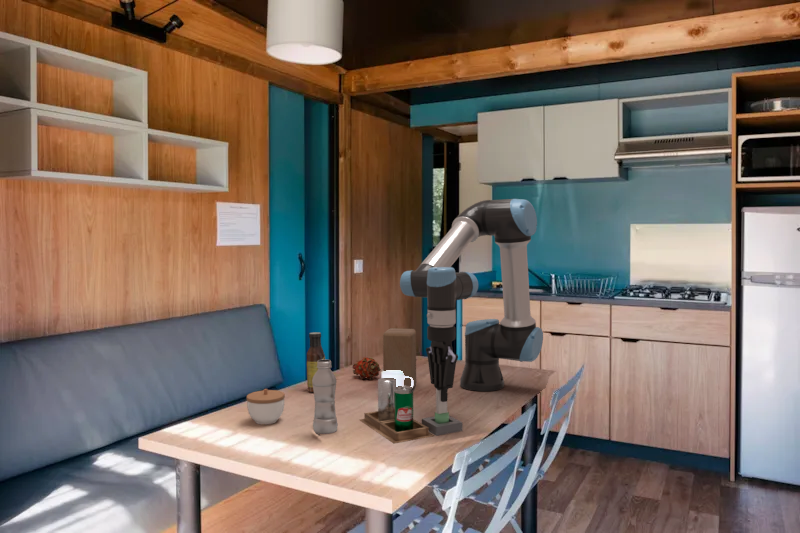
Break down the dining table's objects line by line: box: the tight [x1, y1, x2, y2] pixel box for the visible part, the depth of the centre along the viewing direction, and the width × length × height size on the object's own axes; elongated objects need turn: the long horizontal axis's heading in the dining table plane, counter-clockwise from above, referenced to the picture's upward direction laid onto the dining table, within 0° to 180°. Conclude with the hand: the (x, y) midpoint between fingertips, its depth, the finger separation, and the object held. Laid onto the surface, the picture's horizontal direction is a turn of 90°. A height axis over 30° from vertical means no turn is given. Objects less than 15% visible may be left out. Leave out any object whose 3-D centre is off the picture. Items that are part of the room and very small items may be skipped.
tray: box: [359, 410, 435, 444], centre depth 167 cm, size 12×22×3 cm, turn 27°
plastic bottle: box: [312, 358, 339, 436], centre depth 164 cm, size 6×7×20 cm
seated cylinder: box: [377, 377, 396, 421], centre depth 171 cm, size 5×5×12 cm
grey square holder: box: [421, 415, 464, 437], centre depth 165 cm, size 8×8×4 cm
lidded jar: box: [246, 388, 286, 425], centre depth 176 cm, size 11×11×9 cm
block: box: [382, 327, 417, 387], centre depth 213 cm, size 10×10×20 cm
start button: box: [434, 411, 450, 424], centre depth 165 cm, size 4×4×3 cm
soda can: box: [394, 386, 414, 432], centre depth 162 cm, size 5×5×12 cm
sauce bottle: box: [306, 331, 326, 393], centre depth 209 cm, size 7×6×20 cm
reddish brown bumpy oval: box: [352, 356, 381, 380], centre depth 227 cm, size 8×8×12 cm
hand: (441, 412), depth 165 cm, fingers closed
